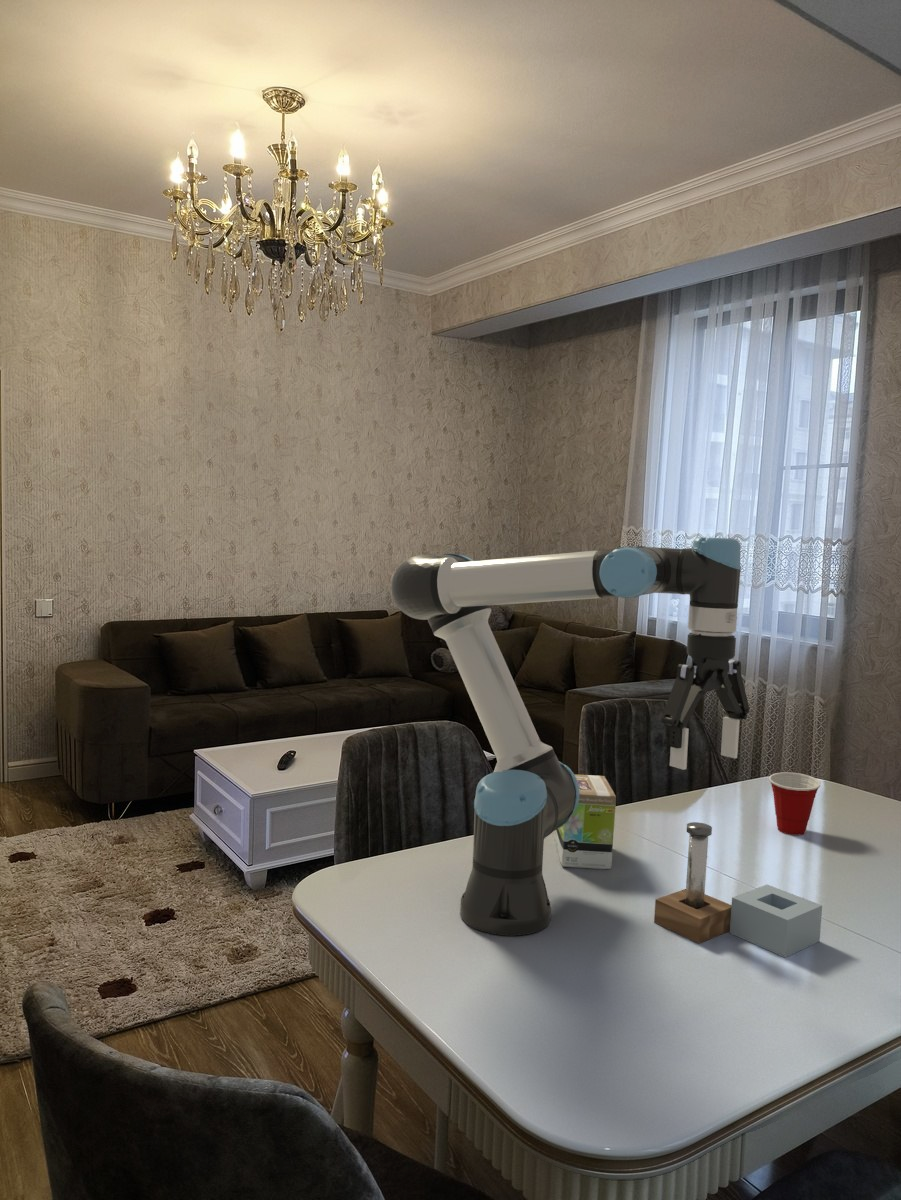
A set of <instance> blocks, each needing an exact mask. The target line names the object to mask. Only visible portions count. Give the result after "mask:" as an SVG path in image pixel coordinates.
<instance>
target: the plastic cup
mask: <svg viewBox="0 0 901 1200" xmlns="http://www.w3.org/2000/svg"><path fill="white" fill-rule="evenodd" d="M768 780H769V782H770V784H771V788H772V792H773V803H774V804H773V805H774V811H775V812H774V813H775V817H776V826H777V830H778V831H779V832H781V833H782V834H786V835H792V836H803V835H805V834H806V831H807V829H808V828H807V827H808V823H809V821H810V817H811V814H812V808H813V805H814V801H815V798H816V796H817V795H816V794H817V792H818V789H819V788H820V787H821V784H822V781H820V780H819V779H818V778H816V777H813V776H811V775H807V774H804V773H799V772H787V771H786V772H783V771H782V772H776V773H772V774H771V775H769V776H768Z"/></svg>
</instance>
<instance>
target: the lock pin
mask: <svg viewBox="0 0 901 1200" xmlns="http://www.w3.org/2000/svg"><path fill="white" fill-rule="evenodd" d="M686 833H687V834H689V837H688V851H687V865H686V866H687V868H686V869H687V870H686V880H685V881H686V883H685V884H686V885H685V889H686V897H685V905H688V906H690V907H692V908H695V909H700V908H702V907H704V895H705V894H706V893H705V892H706V890H705V889H706V877H707V864H708V863H707V860H708V859H707V858H708V847H709V846H708V845H709V837H710V836H712V834H713V827H712V825H710V824H707V823H703V822H699V821H698V822H695V821H694V822H693V821H692V822H688V823H686Z"/></svg>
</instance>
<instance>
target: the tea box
mask: <svg viewBox="0 0 901 1200" xmlns="http://www.w3.org/2000/svg"><path fill="white" fill-rule="evenodd" d="M574 775H575V777H576V779H577V781H578V785H579V792H580V796H579V802H578V805H577V808H576V810H575V812H574V813H573V814H572V816H571V817H570V819H569V820H568V821H567V822H566V823H565V824H564V825H563V826H561V827H560V828H557V829H556V830H555V831H554V842H555V846H556V850H557V853H558V856H559V857H558V858H559V860H560V864H561V867H564V868H565V867H566V868H576V869H577V868H578V869H580V868H581V869H595V870H597V869H598V870H610V869H611V868H612V863H613V862H612V861H613V846H614V834H615V832H614V831H615V819H616V818H615V817H616V804H617V796H616V794H615V791H614V790H613V788H612V786H611V784H610V783H609V781H608V780H607V778H606V776H605V775H592V774H590V775H589V774H575V773H574Z"/></svg>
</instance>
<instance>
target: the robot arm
mask: <svg viewBox="0 0 901 1200" xmlns="http://www.w3.org/2000/svg"><path fill="white" fill-rule="evenodd" d="M741 570H742V566H741V543H740V542H739V540H738V539H735V538H728V537H695V538H694V539H693V542H692V545H691V547H690V548H674V547H673V548H671V547H657V546H655V547H654V546H644V545H643V546H642V545H636V546H622V547H621V546H620V547H618V548H614V549H613V548H610V549H602V550H587V551H575V552H563V553H553V554H541V555H531V556H529V555H528V556H517V557H508V558H507V557H506V558H495V559H483V560H474V559H472V558H471V557H468V556H465V555H462V554H457V553H449V552H448V553H442V554H419V555H416V556H414V555H413V556H411V557H409V558H407V559H405V560H403V562H401V563H400V565H399V566H398V567H397V568H396V570H395V572H394V574H393V577H392V580H391V586H390V589H391V595H392V598H393V600H394V603H395V605H396V606H397V607H398V608H399V610H400V611H401V612H402V613H403V614H405V615H407V616H408V617H409V618H411V619H416V620H423V621H425V620H427V623H428V624H429V626H430V628H431V630H432V634H433V635H434V636H435V637H437V638H440V639H442V640H444V641H445V643H446V646H447V647H448V648H447V649H448V650H449V651H450V654H451V656H452V659H453V661H454V664H455V665H456V668H457V670H458V673H459V674H460V678H461V679H462V681H463V682H462V683H463V684H464V687H465V689H466V691H467V693H468V695H469V698H470V701H471V702H472V705H473V707H474V710H475V712H476V714H477V716H478V719H479V722H480V723H481V726H482V727H483V730H484V733H485V736H486V738H487V739H488V742H489V745H490V746H491V749H492V751H493V753H494V755H495V758H496V761H497V762H496V764H495V767H494V770H493V772H491V773H489V774H487V775H485V776H483V777H482V778H480V780H479V782H478V783H477V786H476V788H475V789H476V790H475V798H474V800H473V809H474V816H473V817H474V819H473V820H474V821H473V845H472V846H473V848H472V868H471V871H470V873H469V874H470V875H469V878H468V880H467V884H466V887H465V891H464V892H463V893H462V895H461V898H460V904H459V906H460V907H459V911H460V912H459V915H460V918H461V920H462V921H463V922H464V923H465V924H467V925H468V926H469V927H472V928H474V929H475V930H477V931H478V930H479V931H481V932H483V933H488V934H493V935H499V936H524V935H525V936H526V935H530V934H534V933H538V932H540V931H542V930H544V929H545V928H546V927H548V926H549V924H550V922H551V918H552V917H551V915H552V914H551V912H552V910H551V909H552V905H551V901H550V899H549V896H548V890H547V888H546V884H545V879H544V875H543V864H544V863H543V861H544V842H545V841H544V840H545V839H546V838H547V837H549V836H550V835H551V834H553V833H555V830H556V829H557V828H560V827H561V826H563V825H564V824H565V823H566V822H567V821H568V820H569V819H570V817H571V816H572V814H573V813H574V812H575V810H576V808H577V805H578V802H579V796H580V792H579V785H578V781H577V779H576V777H575V775H574V774H575V773H574V772H573V771H572V769H571V768H570V767H569V766H568V765H566V764H564V763H563V762H561V761H559V759H558V757H557V754H556V753H555V750H554V748H553V747H552V746H551V745H549V744H546V743H544V742H542V741H541V739H540V737H539V735H538V733H537V731H536V728H535V726H534V724H533V722H532V721H533V720H532V719H531V716H530V714H529V712H528V709H527V707H526V706H525V703H524V701H523V699H522V697H521V696H522V695H520V691H519V690H518V687H517V685H516V682H515V681H514V679H513V676H512V674H511V672H510V669H509V667H508V664H507V662H506V660H505V657H504V656H503V653H502V651H501V649H500V647H499V644H498V643H497V641H496V638H495V635H494V634H493V631H492V629H491V626H490V625H489V618H490V616H491V613H492V609H491V607H490V606H495V605H496V606H497V605H498V606H499V605H515V604H528V603H543V602H545V603H546V602H555V601H556V602H562V601H575V600H576V601H578V600H591V599H612V598H622V599H632V598H639V597H640V596H644V595H650V594H676V595H677V594H678V595H689V609H688V618H687V619H688V621H687V628H688V629H689V630H690V631H691V632H689V634H687V644H686V654H687V655H688V656H690V657H691V663H690V665H689V664H684V663H683V664H682V663H679V664H678V665H677V669H676V677H675V680H674V682H673V685H672V688H671V691H670V694H669V696H668V700H667V701H666V702H667V703H666V705H665V708H664V710H663V713H662V716H661V723H662V724H665V726H669V727H670V732H669V746H670V750H669V751H670V752H669V754H670V755H669V767H673V768H677V769H680V770H682V771H683V770H687V765H688V764H687V763H688V747H689V730H690V729H689V728H688V727H686V726H687V723H688V722H689V720H690V718H691V716H692V715H693V713H694V712H695V709H696V707H697V706H698V704H699V701H700V700H701V698H702V697H703V696H705V695H706V694H707V692H711V691H713V690H714V692H715V693H716V696H717V698H718V700H719V702H720V705H722V708H723V710H724V712H725V714H726V715H727V716H723V717H722V728H721V729H722V730H721V743H720V744H721V746H720V747H721V748H720V749H721V750H720V755H721V756H723V757H727V758H731V759H737V758H738V753H739V751H738V749H739V736H740V729H741V728H740V727H741V720H744V721H745V720H747V718H748V714H749V713H750V706H749V705H750V704H749V701H748V697H747V693H746V689H745V688H746V687H745V686H744V685H745V684H744V681H743V677H742V662H741V661H740V660H737V659H736V660H734V658H735V656H736V645H737V638H736V637H735V635H733V634H734V633H735V632H737V625H738V624H737V621H738V620H737V619H738V607H739V596H740V595H739V592H740V584H741V583H740V580H741Z"/></svg>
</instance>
